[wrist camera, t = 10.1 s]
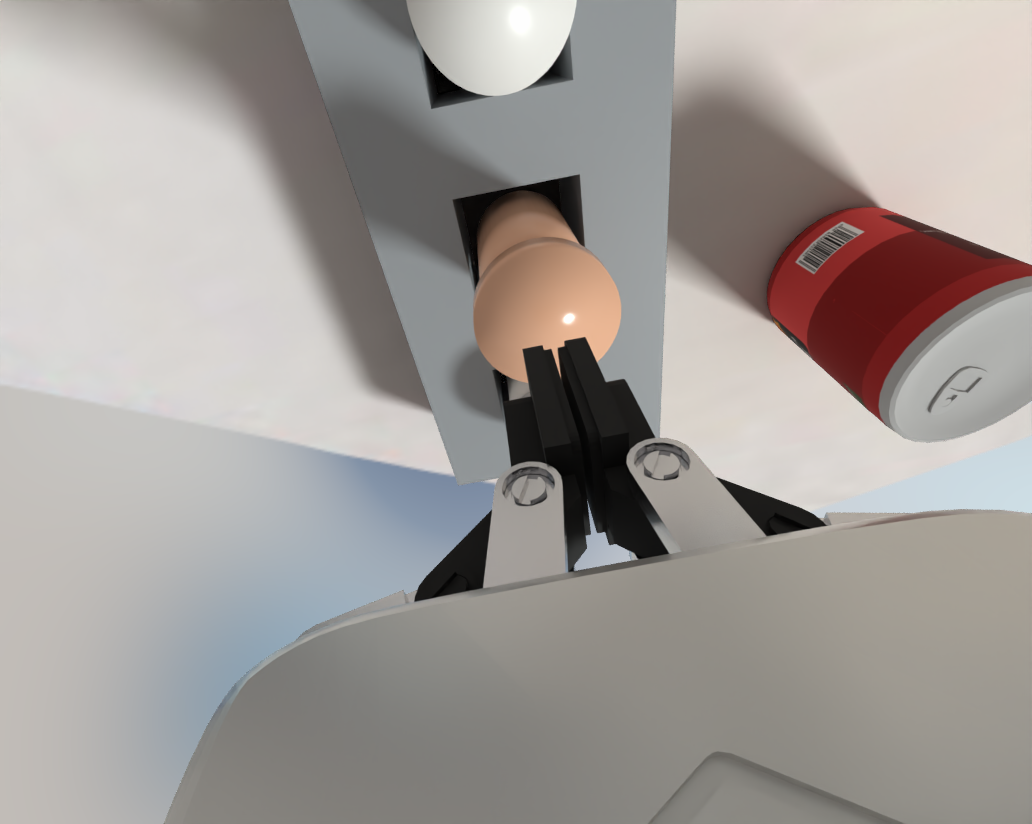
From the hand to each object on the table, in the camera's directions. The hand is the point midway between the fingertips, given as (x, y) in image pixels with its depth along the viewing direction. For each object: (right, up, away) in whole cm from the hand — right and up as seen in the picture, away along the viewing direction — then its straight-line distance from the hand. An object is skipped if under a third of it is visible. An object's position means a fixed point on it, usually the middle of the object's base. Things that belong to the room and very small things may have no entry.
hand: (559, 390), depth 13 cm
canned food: (+17, +8, +16) cm, 25 cm away
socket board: (-1, +10, +12) cm, 15 cm away
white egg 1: (-3, +16, +6) cm, 17 cm away
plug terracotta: (-1, +7, +8) cm, 11 cm away
